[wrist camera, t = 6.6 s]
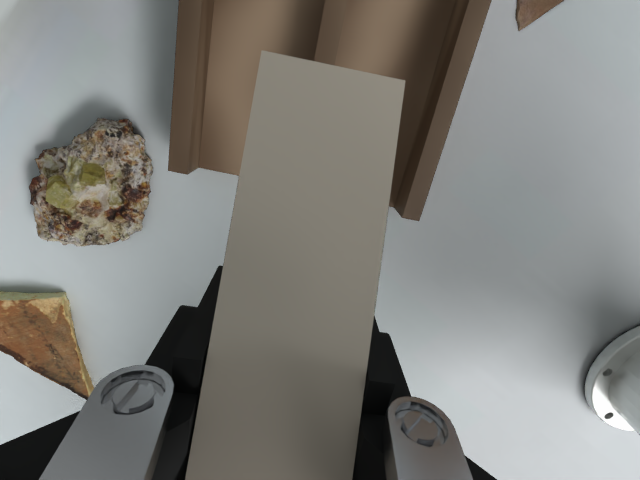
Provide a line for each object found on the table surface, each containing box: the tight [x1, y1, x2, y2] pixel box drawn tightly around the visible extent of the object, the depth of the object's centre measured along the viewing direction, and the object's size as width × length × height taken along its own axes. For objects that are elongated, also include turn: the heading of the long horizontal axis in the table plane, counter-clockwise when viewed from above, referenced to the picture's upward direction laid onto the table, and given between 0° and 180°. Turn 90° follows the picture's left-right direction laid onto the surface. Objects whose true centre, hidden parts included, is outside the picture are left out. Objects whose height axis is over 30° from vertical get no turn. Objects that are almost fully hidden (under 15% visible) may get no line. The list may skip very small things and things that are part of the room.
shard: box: [0, 291, 94, 400], centre depth 31 cm, size 11×8×2 cm
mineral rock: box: [29, 118, 153, 246], centre depth 26 cm, size 11×4×8 cm
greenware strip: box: [185, 50, 405, 480], centre depth 10 cm, size 3×12×6 cm, turn 169°
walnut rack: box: [168, 0, 491, 221], centre depth 22 cm, size 17×18×4 cm
